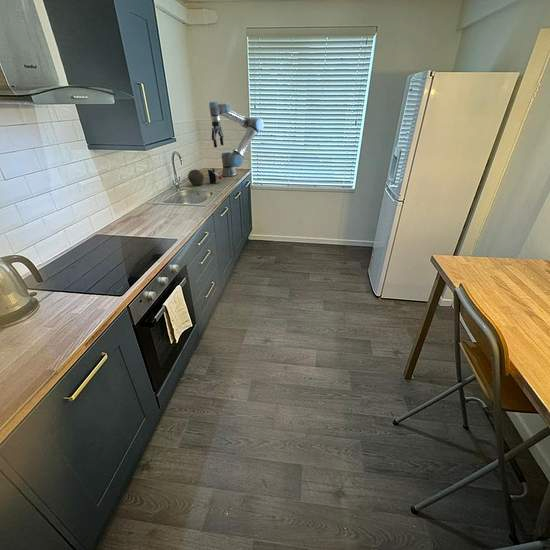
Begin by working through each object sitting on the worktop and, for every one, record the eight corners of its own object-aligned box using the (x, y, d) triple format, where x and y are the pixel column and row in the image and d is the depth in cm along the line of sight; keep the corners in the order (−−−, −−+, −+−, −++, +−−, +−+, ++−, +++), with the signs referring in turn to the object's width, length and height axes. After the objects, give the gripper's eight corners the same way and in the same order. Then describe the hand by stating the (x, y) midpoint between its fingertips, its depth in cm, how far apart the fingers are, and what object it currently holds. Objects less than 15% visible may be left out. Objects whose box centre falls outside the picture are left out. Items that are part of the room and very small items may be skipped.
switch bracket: (220, 182, 287) (218, 168, 280) (216, 184, 280) (214, 170, 273) (210, 182, 290) (208, 168, 283) (206, 184, 283) (203, 170, 276)
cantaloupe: (189, 184, 284) (186, 168, 276) (204, 183, 286) (201, 167, 278) (189, 188, 272) (186, 172, 264) (205, 187, 275) (202, 170, 267)
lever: (222, 179, 282) (223, 176, 279) (220, 180, 279) (221, 177, 276) (210, 171, 281) (211, 168, 279) (208, 172, 278) (209, 169, 276)
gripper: (218, 120, 279) (221, 144, 290) (205, 122, 259) (209, 148, 270) (225, 119, 276) (228, 144, 288) (212, 122, 256) (216, 148, 268)
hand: (219, 146), depth 279 cm, fingers open, 13 cm apart
